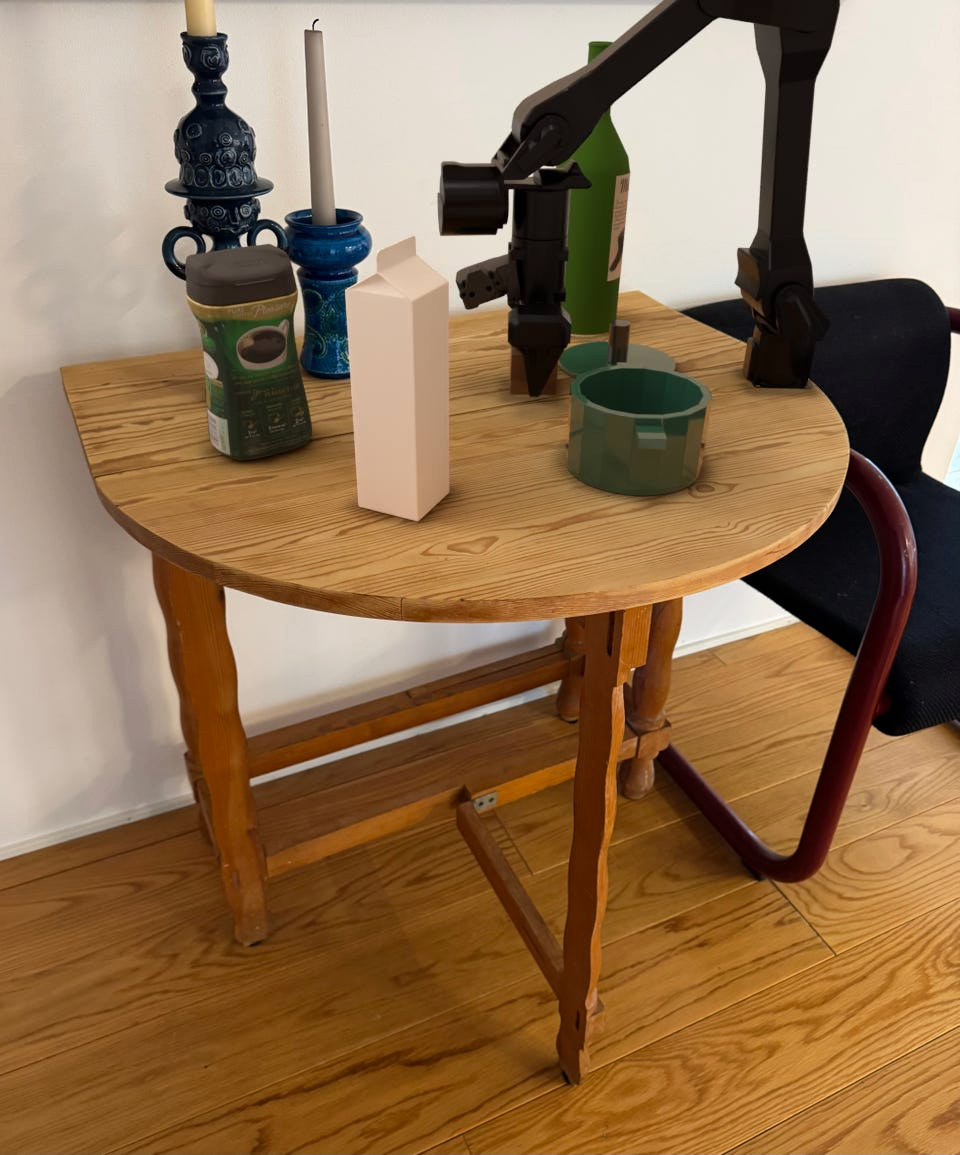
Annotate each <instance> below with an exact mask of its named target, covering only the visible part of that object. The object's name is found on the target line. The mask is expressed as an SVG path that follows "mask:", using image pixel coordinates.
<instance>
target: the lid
mask: <svg viewBox="0 0 960 1155" xmlns="http://www.w3.org/2000/svg"><path fill="white" fill-rule="evenodd" d="M631 327H632V323H631V322H630V321H628V320H625V319H616V320H613V321H611V322H610V326H609V332H608V339H607V341H591V342H585V343H584V342H583V343H579V344H575V345H573V346H569V347H567V348H565V350H564V351H563V353H562V355H561V357H560V359H559V360H558V368H560V370H561V371H563V372H564V373H565V374H566V375H568V376H570V377H572V378H574V379H576V378H577V377H578V376H579V375H580V374H583V373H586V372H588V371H591V370H594V369H597V368H603V367H610V366H616V363H617V362H622V363H641V366H650V367H657V368H663V369H669V370H673V371H676V365H677V364H676V361H675V360H674V359H673V357H672V356H670V355H669V354H668V353H666V352H664V351H662V350H660V349H657V348H654V347H652V346H647V345H644V344H639V343H634V342H630V339H631V338H630V337H631V329H632V328H631Z"/></svg>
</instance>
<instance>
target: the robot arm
mask: <svg viewBox="0 0 960 1155" xmlns="http://www.w3.org/2000/svg"><path fill="white" fill-rule="evenodd" d="M840 8H841V0H662V1H661V2H659V3H658V4H657V5H656V6H655V7H654V8H652V9H651V10H650V11H649V12H648V13H646V14H645V15H644V16H643V17H641V18H640V19H639V20H638V21H637V22H635V24H633V25H632V26H631V27H629V29H627V30H626V31H625V32H624V33H623V34H621V35H620V36H619V37H618V38H617V39H616V40H614V41H612V42H613V43H612V44H611V45H610V46H609V47H607V48H606V49H605V50H604V51H603V52H601V53H600V54H599V55H598V56H597V57H595V58H594V59H593V60H592V61H591V62H590V63H588V62H587V64H586V65H584V66H582V67H581V68H579V69H577V70H575V71H573V72H572V73H569V74H567V75H565V76H563V77H560V78H558V79H556V80H554V81H552V82H550V83H549V84H547V85H545V86H544V87H541V88H540V89H538V90H537V91H535V92H533V93H531V94H529V95H528V96H526V97H525V98H523V100H521V101H520V103H519V104H518V105H517V106H516V108H515V110H514V111H513V114H512V118H511V131H510V132H509V134H508V135H507V136H506V138H505V139H504V140H503V142H502V143H501V145H500V147H499V148H498V149H497V151H496V152H495V153H494V155H493V156H492V158H491V160H490V162H475V163H474V162H472V163H471V162H469V163H467V162H458V161H455V160H447V161H446V160H443V161H442V162H441V163H440V177H439V191H438V192H437V193H436V194H437V198H436V199H437V200H436V201H437V220H438V231H439V236H440V237H461V236H462V237H463V236H464V237H465V236H466V237H467V236H469V237H470V236H496V235H497V234H498V230H503V229H504V226H505V225H507V224H508V222H509V215H510V190H512V192H513V193H512V214H511V215H512V219H511V239H510V240H511V241H508V242H507V253H505V254H502V255H499V256H495V257H491V258H488V259H486V260H483V261H480V262H476V263H474V264H470V265H468V266H465V267H463V268H461V269H459V270H457V271H456V273H455V283H456V287H457V289H458V292H459V298H460V299H461V300H462V303H463V306H464V309H465V310H466V311H470V310H474V309H477V308H479V307H480V305H483V304H485V303H486V304H487V303H489V302H491V301H495V300H499V299H500V298H503V297H505V296H506V303H507V306H508V307H509V308H510V309H511V310H509V312H508V313H507V343H508V344H509V345H510V347H511V346H512V347H514V348H516V349H517V350H518V351H519V352H520V353H521V354H522V355H523V361H524V367H525V373H526V379H527V385H528V391H529V395H528V396H529V397H530V398H539V397H540V396H542V395H541V393H542V391H543V389H544V387H545V385H546V383H547V381H548V379H549V377H550V375H551V373H552V371H553V370H554V368H555V366H556V364H557V362H558V360H559V359H560V357H561V355H562V353H563V351H564V350H566V349H567V348H568V346H569V344H571V341H572V340H571V339H572V334H571V326H572V325H571V320H570V315H569V313H568V312H567V311H566V310H565V309H564V308H563V307H562V306H561V302H566V289H565V276H566V261H568V256H569V250H568V246H567V244H568V228H569V212H570V196H571V189H590V188H591V187H592V182H591V181H590V180H589V179H588V178H587V177H586V176H585V175H584V174H583V172H582V170H581V169H580V166H579V164H578V163H577V162H576V161H575V160H574V159H571V160H570V161H569V162H568V163H567V164H566V165H565V166H564V167H562V168H556V166H558V165H560V164H562V163H564V162H565V161H567V160H568V159H569V158H570V157H571V156H572V155H573V154H574V153H575V152H576V150H577V149H578V148H579V147H580V146H581V145H582V144H583V142H584V141H585V140H586V139H587V138H588V137H589V136H590V135H591V133H592V132H593V131H594V129H595V128H596V126H597V125H598V123H599V122H600V120H601V119H602V117H603V116H604V114H605V113H606V111H607V110H608V109H609V108H610V107H611V108H612V106H613V105H614V104H615V103H616V102H617V101H618V100H619V99H620V98H622V97H623V96H625V94H627V92H630V91H631V89H633V88H634V87H635V86H636V85H638V83H640V82H641V81H642V80H643V79H645V78H646V77H647V76H648V75H650V74H651V73H652V72H653V71H654V70H656V69H657V68H659V66H661V65H662V64H663V63H664V62H665V61H666V60H668V59H669V58H670V57H672V56H673V55H674V54H675V53H676V52H678V51H679V50H680V49H681V48H682V47H684V46H685V45H686V44H687V43H689V41H691V40H692V39H693V38H694V37H696V36H697V35H698V34H699V33H701V32H702V31H704V29H705V28H707V27H708V26H709V25H710V24H712V23H713V22H714V21H716V20H718V19H725V20H731V21H738V22H742V23H750V24H753V31H754V41H755V50H756V53H757V56H758V60H759V63H760V67H761V71H762V74H763V78H764V85H765V87H764V88H765V89H764V90H765V91H764V105H763V106H764V108H763V122H762V124H763V125H762V143H761V144H762V145H761V161H760V162H761V163H760V164H761V165H760V179H759V180H760V181H759V198H758V200H759V201H758V215H757V216H758V217H757V228H756V229H757V230H756V233H755V236H754V238H753V239H752V242H751V244H750V245H749V247H738V248H737V249H736V250H737V251H736V259H737V274H736V277H735V279H734V282H733V284H734V285H735V286H737V288H739V289H740V295H741V297H742V299H743V300H744V301H745V302H746V303H747V304H748V305H749V306H750V309H751V313H752V318H753V319H754V320H756V321H758V322H759V323H755V324H754V327H753V328H754V329H753V335H752V337H748V338H747V341H746V347H745V353H744V359H743V363H742V371H741V372H742V374H743V376H744V377H745V378H746V380H747V381H748V382H750V383H751V385H752V387H754V388H756V389H779V390H780V389H781V390H782V389H784V390H786V389H788V390H812V389H813V386H812V385H811V384H810V382H809V379H810V374H811V369H812V364H813V359H814V355H815V350H816V345H817V342H822V340H824V338H825V336H826V334H827V332H828V330H829V328H830V327H831V324H832V322H831V321H830V319H829V318H828V316H826V314H825V313H824V312H823V310H822V309H821V308H820V306H819V305H818V304H817V303H816V301H815V300H814V298H815V283H814V271H813V264H812V260H811V257H810V253H809V249H808V245H807V242H806V239H805V233H804V229H805V228H804V226H805V216H806V215H805V213H806V204H807V203H806V201H807V191H808V190H807V189H808V188H807V187H808V177H809V164H810V152H811V140H812V130H813V129H812V127H813V113H814V103H815V102H814V101H815V92H816V91H815V90H816V82H817V78H818V76H819V74H820V72H821V70H822V67H823V66H824V63H825V61H826V58H827V56H828V54H829V52H830V50H831V47H832V44H833V39H834V36H835V32H836V26H837V23H838V19H839V14H840ZM545 167H546V168H545ZM531 175H532V176H531Z"/></svg>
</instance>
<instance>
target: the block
mask: <svg viewBox="0 0 960 1155" xmlns="http://www.w3.org/2000/svg"><path fill="white" fill-rule="evenodd" d="M558 368H559V364H558V362H557V364H556V366H555V368H554V370H553V371H552V373H551V375H550V377H549V379H548V381H547V383H546V385H545V387H544V389H543V391H542V393H541V395H540V396H557V389H558V388H557V387H558V372H559V370H558ZM509 395H523V396H524V395H525V396H529V391H528V385H527V379H526V373H525V367H524V361H523V355H522V354H521V353H520V352H519V351H518V350H517V349H516V348H514V347H512V346H511V345H510V355H509Z"/></svg>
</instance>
